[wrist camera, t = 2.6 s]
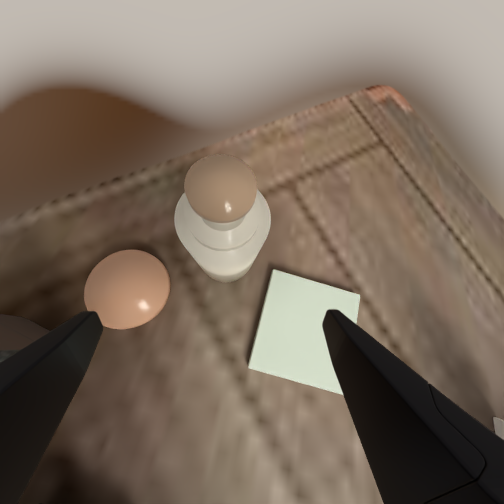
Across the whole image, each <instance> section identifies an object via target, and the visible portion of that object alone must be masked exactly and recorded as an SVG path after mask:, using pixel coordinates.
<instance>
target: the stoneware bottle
mask: <svg viewBox="0 0 504 504" xmlns="http://www.w3.org/2000/svg"><path fill="white" fill-rule="evenodd" d="M184 190H185V192H184V193H183V195H182V196H181V198H180V200H179V201H178V204H177V206H176V210H175V218H174V220H175V228H176V232H177V235H178V237H179V239H180V241H181V242H182V244H183V245H184V246H185V248H186V249H187V250H188V251H189V253H190V254H191V255H192V257H193V258H194V259H195V260H196V262H197V263H198V264H199V265H200V267H201V268H202V269H203V271H204V272H205V273H206V274H207V275H208V276H209V277H210V278H212V279H214V280H216V281H219V282H233V281H236V280H238V279H240V278H242V277H243V276H244V275H245V274H246V273H247V272H248V271H249V269H250V267H251V266H252V264H253V262H254V260H255V258H256V256H257V255H258V253H259V251H260V249H261V247H262V246H263V244H264V242H265V240H266V238H267V236H268V233H269V230H270V224H271V216H270V210H269V207H268V204H267V202H266V200H265V198H264V197H263V195H262V194H261V193H260V192H259V190H257V180H256V177H255V175H254V173H253V171H252V170H251V168H250V167H249V166H248V165H247V164H246V163H245V162H243V161H242V160H240V159H238V158H236V157H234V156H231V155H226V154H214V155H209V156H206V157H203V158H201V159H200V160H198V161H197V162H195V163H194V164H193V165H192V166H191V167H190V169H189V170H188V172H187V174H186V177H185V181H184Z"/></svg>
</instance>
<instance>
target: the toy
mask: <svg viewBox="0 0 504 504" xmlns="http://www.w3.org/2000/svg"><path fill="white" fill-rule="evenodd" d="M48 332H50V331H49V330H47V329H45V328H43V327H41V326H40V325H38V324H36V323H34V322H32V321H30V320H28V319H26V318H23V317H18V316H11V315H3V314H0V362H2V361H3V360H5V359H7V358H8V357H10V356H11V355H13V354H15V353H16V352H18V351H19V350H21V349H23V348H24V347H26V346H27V345H29V344H31V343H32V342H34V341H35V340H37V339H39V338H40V337H42V336H43V335H45V334H47V333H48Z"/></svg>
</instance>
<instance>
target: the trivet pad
mask: <svg viewBox="0 0 504 504" xmlns="http://www.w3.org/2000/svg"><path fill="white" fill-rule="evenodd" d="M359 300H360V295H358V294H355V293H352V292H348V291H345V290H342V289H338V288H335V287H332V286H328V285H325V284H322V283H318V282H315V281H311V280H308V279H305V278H301V277H298V276H295V275H291V274H288V273H285V272H281V271H278V270H275V269H273V270H272V272H271V276H270V280H269V284H268V288H267V292H266V296H265V300H264V304H263V308H262V311H261V315H260V319H259V323H258V327H257V331H256V335H255V339H254V343H253V346H252V350H251V354H250V358H249V362H248V368H250V369H254V370H257V371H261V372H264V373H268V374H271V375H275V376H278V377H282V378H285V379H289V380H292V381H296V382H300V383H303V384H307V385H310V386H314V387H317V388H321V389H324V390H328V391H331V392H335V393H338V394H342V395H343V393H342V390H341V387H340V384H339V382H338V379H337V376H336V374H335V371H334V368H333V365H332V362H331V358H330V355H329V351H328V347H327V343H326V339H325V336H324V332H323V328H322V323H323V320H324V317H325V314H326V311H327V310H328V309H337V310H339V311H341V312H342V313H343V314H344V315H345V316H347V317H348V318H349V319H350V320H352V321H353V322H354V323H355V324H356V323H357V315H358V308H359Z"/></svg>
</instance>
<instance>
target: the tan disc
mask: <svg viewBox="0 0 504 504" xmlns="http://www.w3.org/2000/svg"><path fill="white" fill-rule="evenodd" d="M170 288H171V283H170V276H169V273H168V271H167V269H166V267H165V266H164V264H163V263H162V262H161V261H160V260H158V259H157V258H156V257H154V256H153V255H151V254H149V253H147V252H144V251H140V250H123V251H119V252H116V253H113V254H111V255H109V256H107V257H106V258H104V259H103V260H102V261H100V262H99V263H98V264H97V265H96V266H95V268H94V269H93V270H92V272H91V273H90V275H89V277H88V279H87V281H86V285H85V289H84V300H85V305H86V308H87V310H88V311H95V312H97V314H98V316H99V318H100V320H101V322H102V325H103V326H106V327H108V328H112V329H128V328H133V327H137V326H140V325H143V324H145V323H147V322H149V321H150V320H152V319H153V318H154V317H156V316H157V315H158V314H159V313H160V311H161V310H162V309H163V307H164V306H165V304H166V302H167V300H168V297H169V294H170Z"/></svg>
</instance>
